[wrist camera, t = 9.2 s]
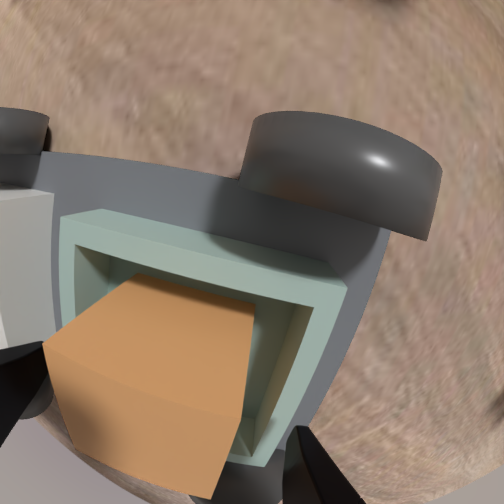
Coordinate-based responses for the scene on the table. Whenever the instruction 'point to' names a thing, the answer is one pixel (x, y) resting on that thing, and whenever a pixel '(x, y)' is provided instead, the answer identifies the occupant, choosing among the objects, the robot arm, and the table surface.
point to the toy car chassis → (219, 228)
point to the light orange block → (155, 381)
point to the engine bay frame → (221, 283)
